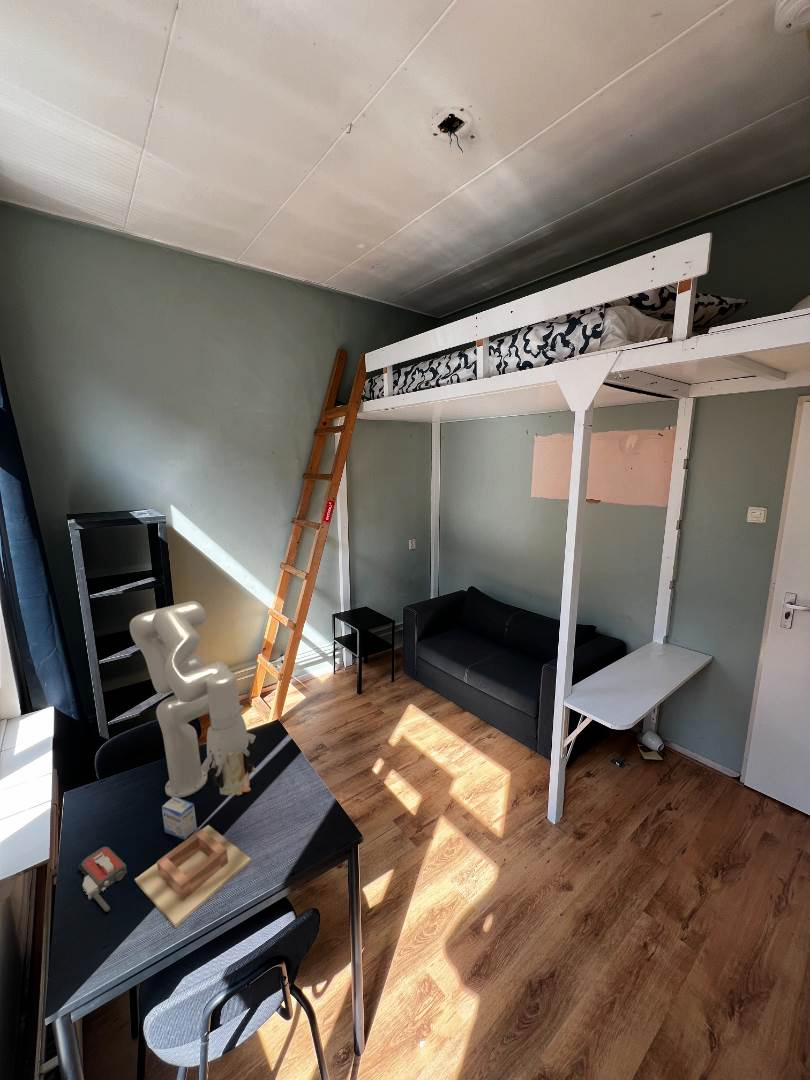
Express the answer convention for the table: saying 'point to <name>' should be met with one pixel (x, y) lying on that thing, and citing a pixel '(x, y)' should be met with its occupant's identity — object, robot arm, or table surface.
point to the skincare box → (233, 774)
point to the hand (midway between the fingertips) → (232, 776)
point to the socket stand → (191, 874)
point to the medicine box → (179, 817)
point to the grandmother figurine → (246, 782)
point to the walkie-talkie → (101, 873)
